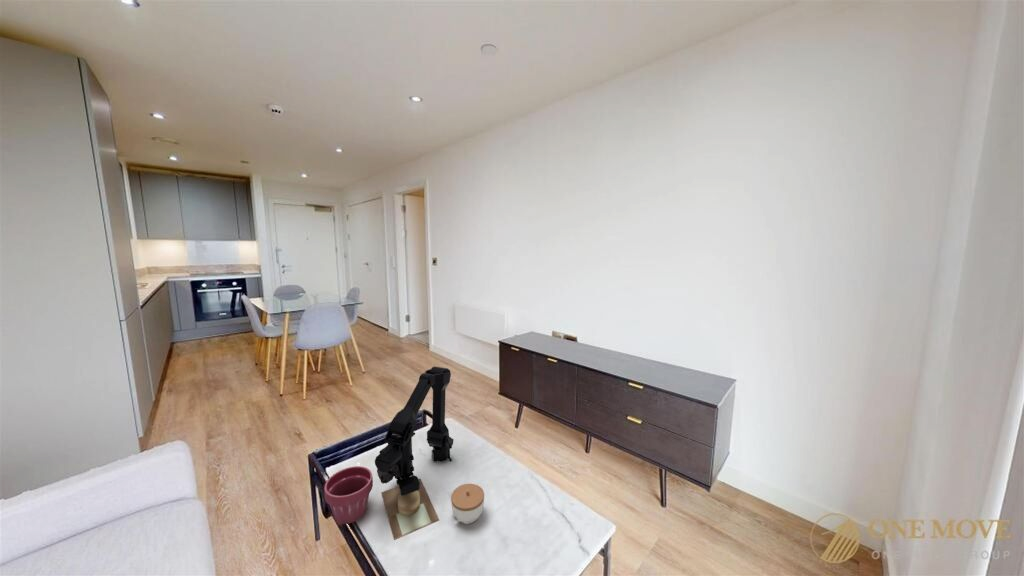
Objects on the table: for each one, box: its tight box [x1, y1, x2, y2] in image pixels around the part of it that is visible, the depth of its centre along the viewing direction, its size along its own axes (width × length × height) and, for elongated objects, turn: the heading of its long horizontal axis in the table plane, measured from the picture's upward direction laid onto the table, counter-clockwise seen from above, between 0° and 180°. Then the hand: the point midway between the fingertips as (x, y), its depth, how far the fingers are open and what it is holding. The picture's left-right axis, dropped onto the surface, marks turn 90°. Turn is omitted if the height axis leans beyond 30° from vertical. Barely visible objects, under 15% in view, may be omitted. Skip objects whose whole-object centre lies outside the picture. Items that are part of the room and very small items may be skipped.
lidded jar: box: [450, 483, 485, 525], centre depth 109 cm, size 11×11×9 cm
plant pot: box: [323, 465, 374, 527], centre depth 109 cm, size 14×14×13 cm
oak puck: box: [398, 491, 420, 516], centre depth 111 cm, size 7×7×4 cm
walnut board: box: [380, 478, 440, 541], centre depth 113 cm, size 14×22×1 cm, turn 31°
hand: (405, 494), depth 116 cm, fingers closed
